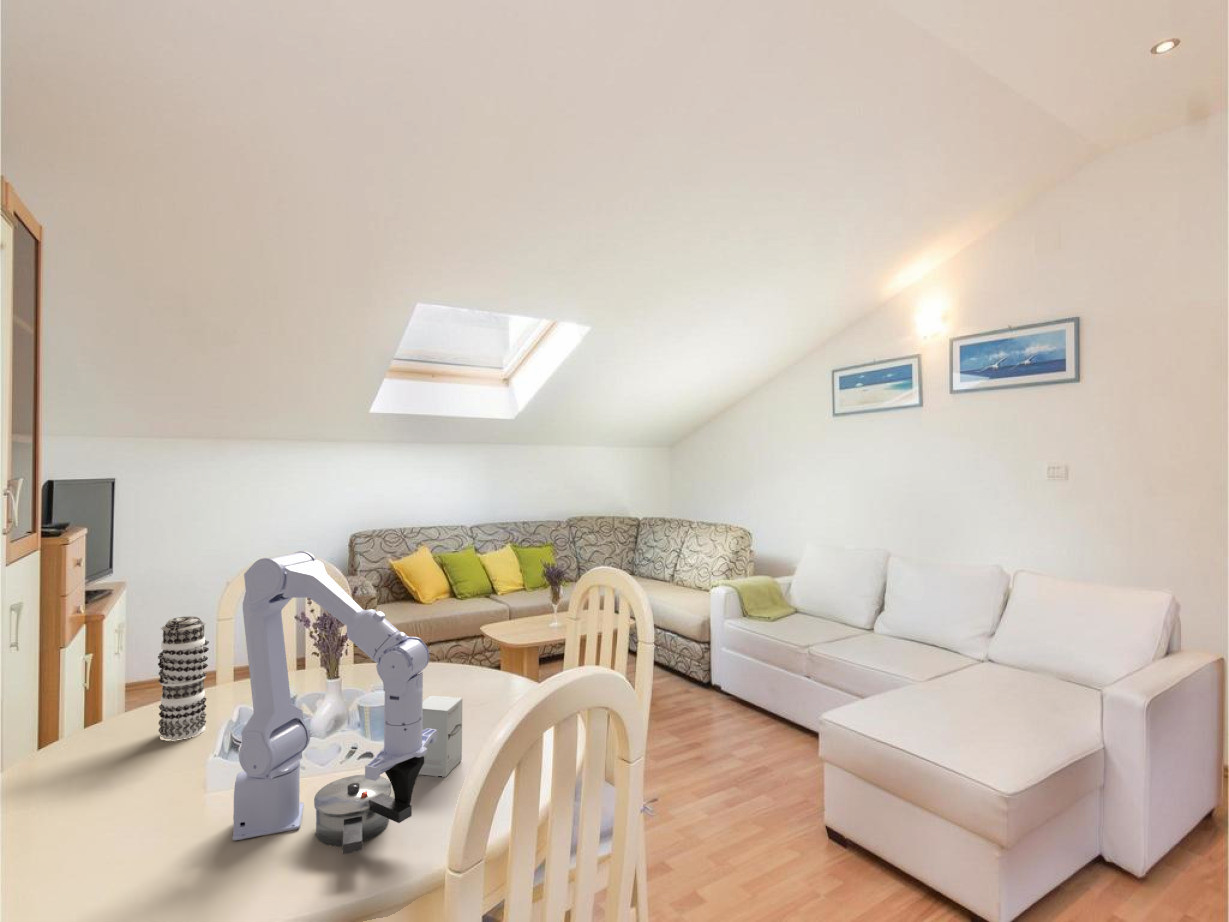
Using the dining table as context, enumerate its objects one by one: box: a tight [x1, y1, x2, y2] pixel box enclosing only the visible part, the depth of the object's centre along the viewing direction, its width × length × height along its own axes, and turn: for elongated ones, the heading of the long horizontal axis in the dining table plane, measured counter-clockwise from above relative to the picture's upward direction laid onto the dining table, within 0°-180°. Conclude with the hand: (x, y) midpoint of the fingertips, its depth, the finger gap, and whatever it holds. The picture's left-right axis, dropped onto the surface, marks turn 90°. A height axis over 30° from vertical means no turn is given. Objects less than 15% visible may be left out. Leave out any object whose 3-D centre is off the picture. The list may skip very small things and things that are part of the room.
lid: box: [313, 774, 413, 824], centre depth 102 cm, size 18×12×2 cm, turn 58°
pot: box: [315, 809, 390, 855], centre depth 101 cm, size 11×18×4 cm, turn 22°
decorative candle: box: [157, 615, 210, 740], centre depth 139 cm, size 9×9×25 cm
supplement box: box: [418, 695, 463, 778], centre depth 124 cm, size 7×7×13 cm
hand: (402, 805), depth 100 cm, fingers closed, pressing on lid
